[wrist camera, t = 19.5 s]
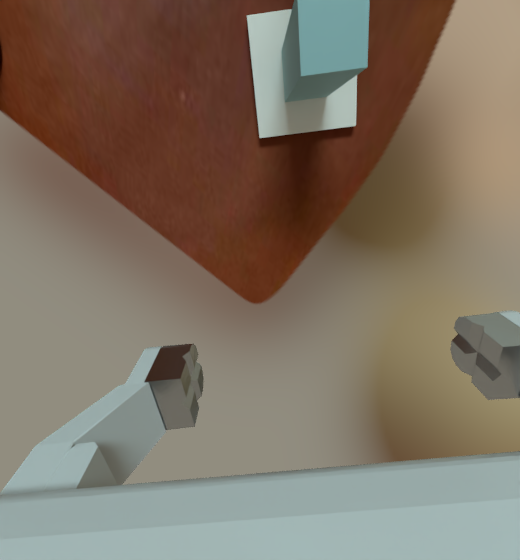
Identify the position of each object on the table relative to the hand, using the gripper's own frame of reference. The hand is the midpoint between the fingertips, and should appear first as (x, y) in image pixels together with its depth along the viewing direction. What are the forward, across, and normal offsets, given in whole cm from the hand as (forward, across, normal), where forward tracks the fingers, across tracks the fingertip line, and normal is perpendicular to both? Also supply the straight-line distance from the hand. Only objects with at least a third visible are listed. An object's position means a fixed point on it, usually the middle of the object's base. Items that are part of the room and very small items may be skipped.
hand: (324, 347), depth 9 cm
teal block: (+33, -5, -13) cm, 36 cm away
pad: (+34, -5, -13) cm, 37 cm away
